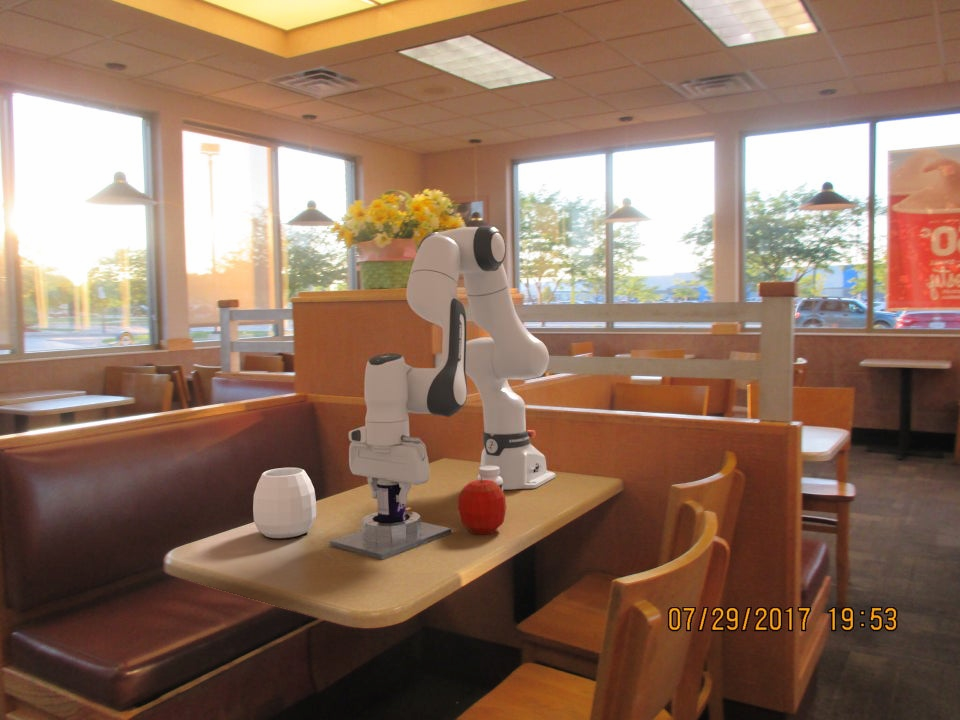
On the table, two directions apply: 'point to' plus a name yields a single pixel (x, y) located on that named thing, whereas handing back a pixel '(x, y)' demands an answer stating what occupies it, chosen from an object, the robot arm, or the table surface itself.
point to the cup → (284, 503)
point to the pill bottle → (490, 474)
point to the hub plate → (388, 548)
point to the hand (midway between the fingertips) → (389, 500)
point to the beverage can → (389, 502)
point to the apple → (482, 506)
